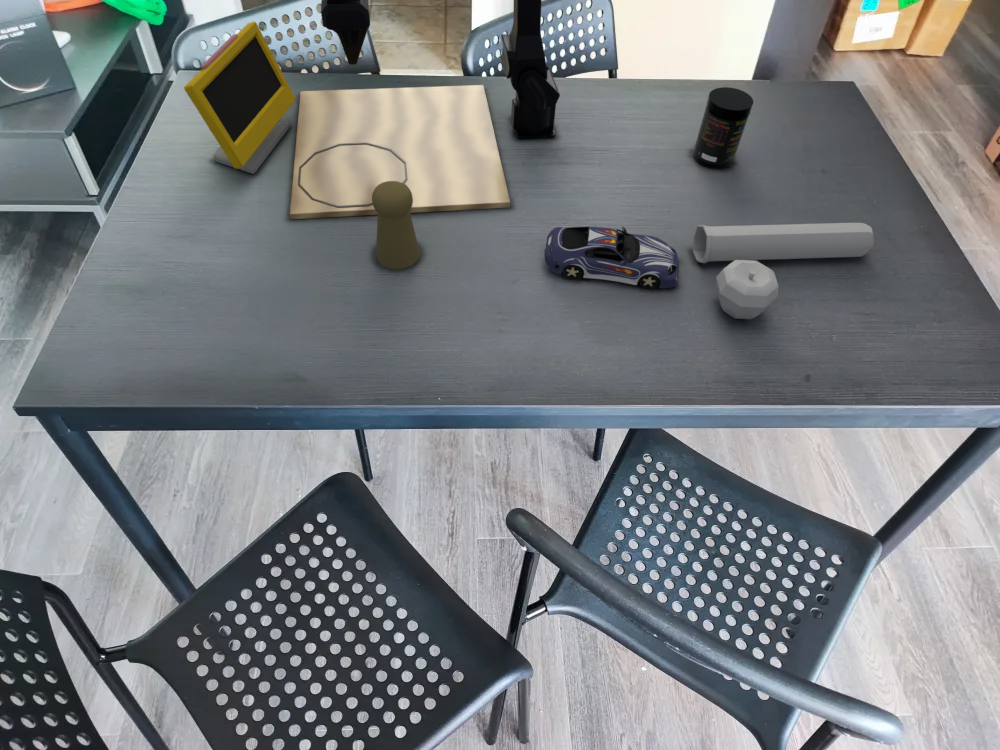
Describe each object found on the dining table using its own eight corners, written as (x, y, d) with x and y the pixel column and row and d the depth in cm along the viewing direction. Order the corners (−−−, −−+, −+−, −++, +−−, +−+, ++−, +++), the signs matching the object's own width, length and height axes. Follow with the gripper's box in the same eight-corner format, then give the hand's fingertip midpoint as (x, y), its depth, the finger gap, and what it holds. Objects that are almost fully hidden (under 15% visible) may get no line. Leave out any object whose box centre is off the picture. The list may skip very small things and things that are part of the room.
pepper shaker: (378, 239, 99) (369, 173, 91) (421, 240, 99) (416, 174, 91) (373, 268, 95) (364, 202, 87) (418, 269, 96) (413, 203, 87)
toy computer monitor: (248, 187, 106) (219, 88, 94) (199, 179, 107) (165, 79, 95) (300, 118, 118) (281, 22, 106) (256, 111, 119) (232, 15, 107)
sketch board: (483, 89, 126) (483, 84, 125) (510, 207, 105) (510, 201, 104) (301, 96, 123) (300, 90, 122) (290, 219, 101) (289, 213, 101)
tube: (865, 214, 100) (696, 218, 98) (886, 227, 96) (710, 232, 94) (855, 249, 103) (690, 254, 101) (875, 264, 99) (703, 269, 96)
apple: (695, 295, 94) (708, 258, 89) (745, 282, 96) (760, 245, 91) (728, 337, 90) (744, 300, 85) (779, 322, 92) (798, 286, 87)
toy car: (677, 293, 94) (685, 265, 91) (540, 276, 96) (543, 247, 92) (676, 255, 99) (684, 227, 96) (546, 239, 101) (549, 210, 97)
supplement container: (737, 153, 116) (757, 93, 108) (728, 174, 112) (748, 114, 104) (697, 142, 118) (714, 83, 110) (687, 163, 114) (704, 103, 106)
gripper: (279, -95, 97) (299, 20, 109) (270, -40, 85) (294, 82, 97) (360, -95, 98) (371, 19, 110) (363, -41, 87) (375, 80, 99)
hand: (352, 48), depth 104 cm, fingers open, 9 cm apart
